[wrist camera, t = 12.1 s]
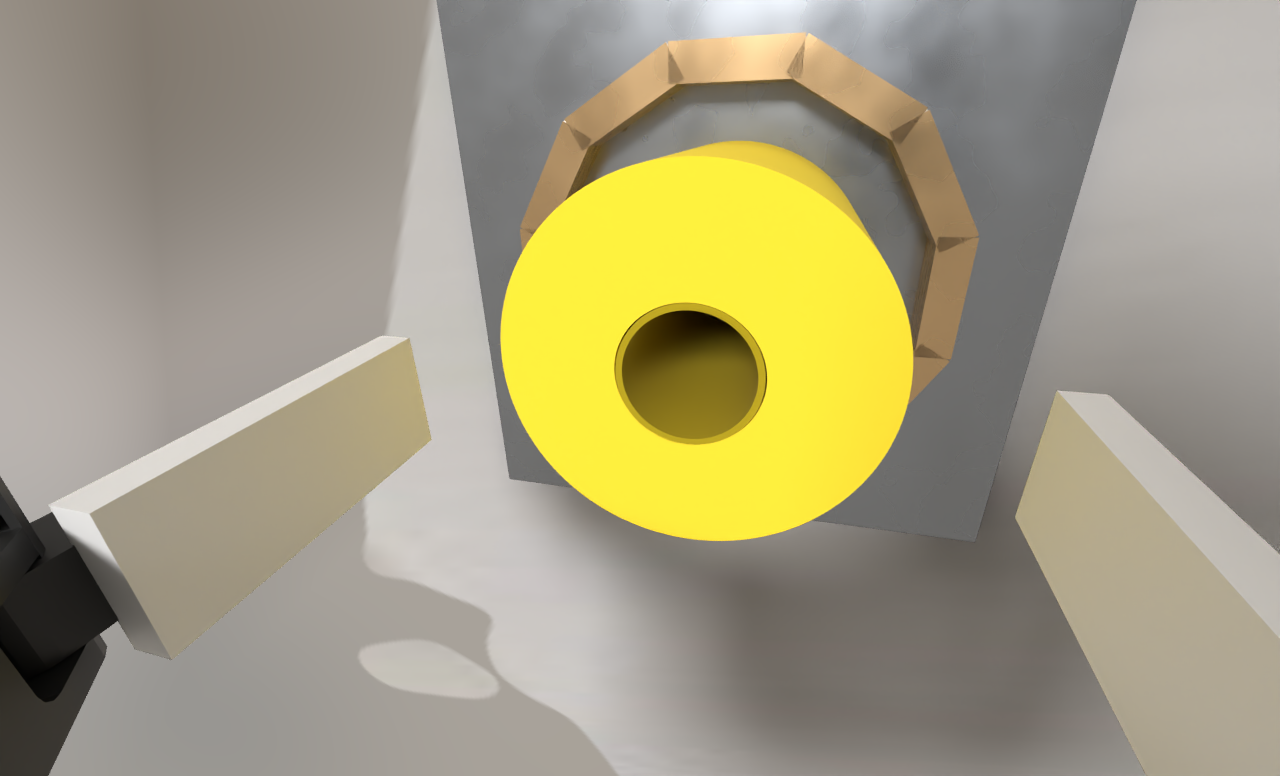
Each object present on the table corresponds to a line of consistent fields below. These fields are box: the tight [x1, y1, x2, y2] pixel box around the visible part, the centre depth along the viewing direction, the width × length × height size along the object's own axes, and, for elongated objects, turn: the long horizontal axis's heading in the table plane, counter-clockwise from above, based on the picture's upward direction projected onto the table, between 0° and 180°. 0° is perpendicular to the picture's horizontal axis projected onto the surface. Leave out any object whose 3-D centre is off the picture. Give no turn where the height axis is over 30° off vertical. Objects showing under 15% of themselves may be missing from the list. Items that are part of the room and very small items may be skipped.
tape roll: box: [501, 141, 913, 541], centre depth 18 cm, size 10×10×9 cm
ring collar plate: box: [437, 0, 1137, 542], centre depth 22 cm, size 22×22×2 cm
